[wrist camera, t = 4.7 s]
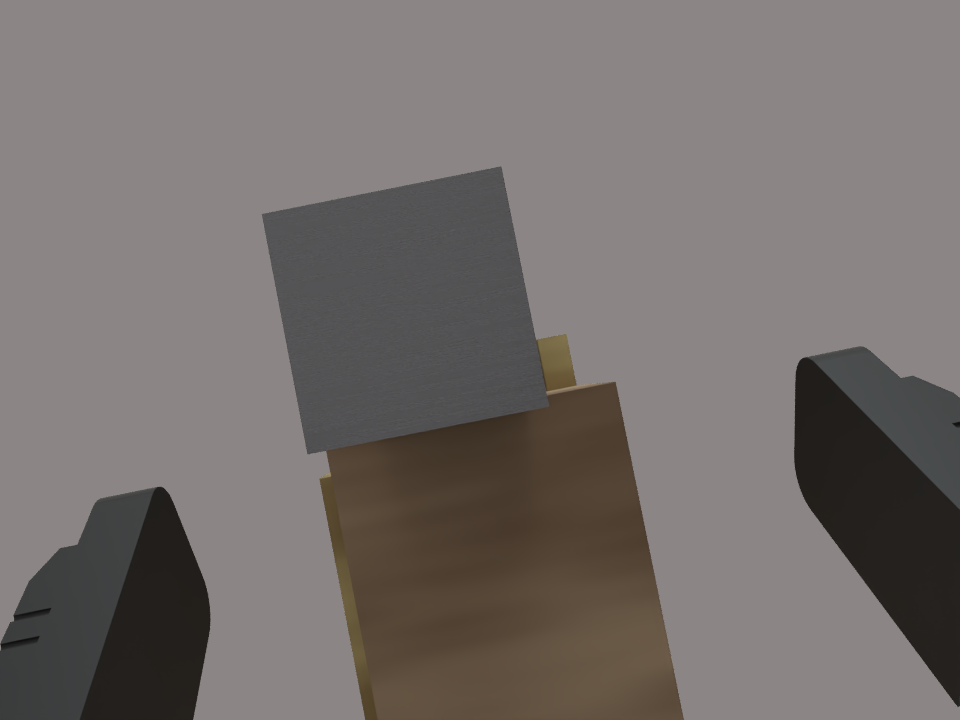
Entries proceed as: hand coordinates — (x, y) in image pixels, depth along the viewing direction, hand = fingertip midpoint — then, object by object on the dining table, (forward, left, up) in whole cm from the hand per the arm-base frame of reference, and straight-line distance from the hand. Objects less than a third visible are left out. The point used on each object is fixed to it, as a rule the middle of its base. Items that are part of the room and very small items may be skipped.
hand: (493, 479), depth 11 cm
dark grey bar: (-3, -12, +1) cm, 13 cm away
